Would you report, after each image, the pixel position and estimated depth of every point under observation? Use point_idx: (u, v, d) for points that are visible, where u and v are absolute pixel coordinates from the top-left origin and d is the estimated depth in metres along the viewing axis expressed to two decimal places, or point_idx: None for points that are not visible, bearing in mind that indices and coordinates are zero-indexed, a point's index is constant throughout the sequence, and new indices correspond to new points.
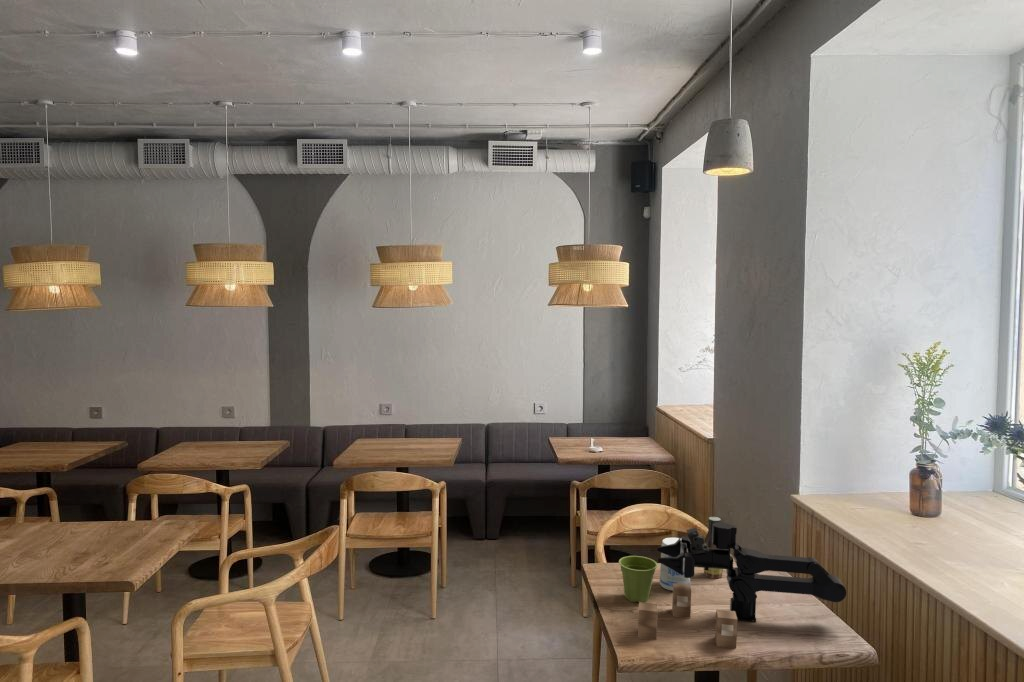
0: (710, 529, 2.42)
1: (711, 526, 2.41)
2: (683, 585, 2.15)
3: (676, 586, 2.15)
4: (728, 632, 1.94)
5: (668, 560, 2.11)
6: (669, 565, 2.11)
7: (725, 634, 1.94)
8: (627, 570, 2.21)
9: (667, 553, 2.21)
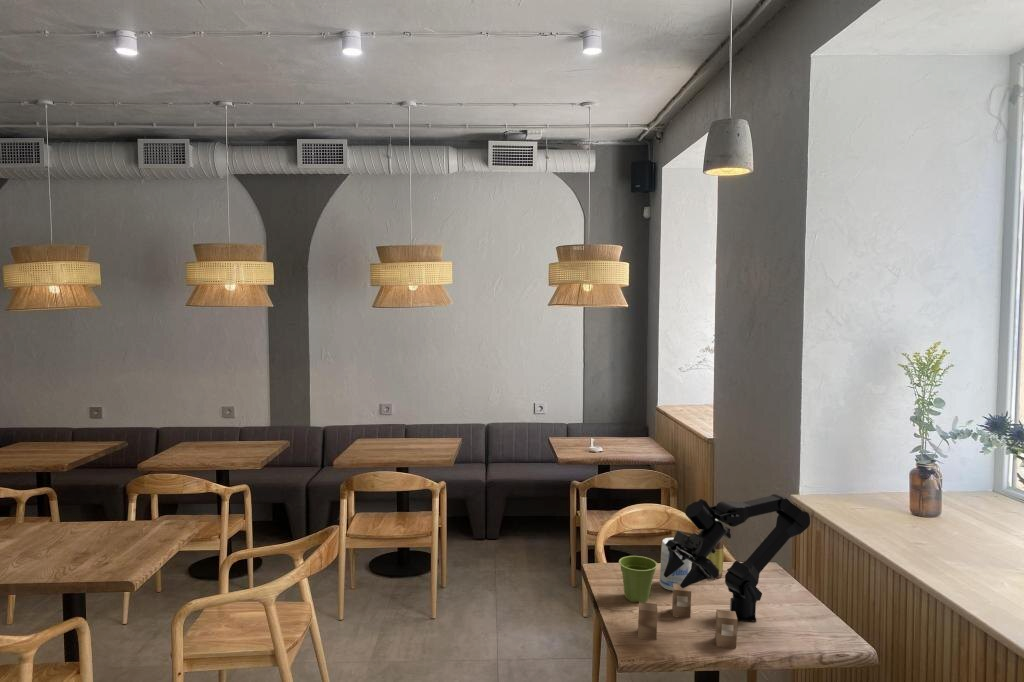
0: None
1: None
2: None
3: (676, 586, 2.15)
4: (728, 632, 1.94)
5: (689, 579, 1.99)
6: (693, 581, 1.99)
7: (725, 634, 1.94)
8: (627, 570, 2.21)
9: (673, 570, 2.08)
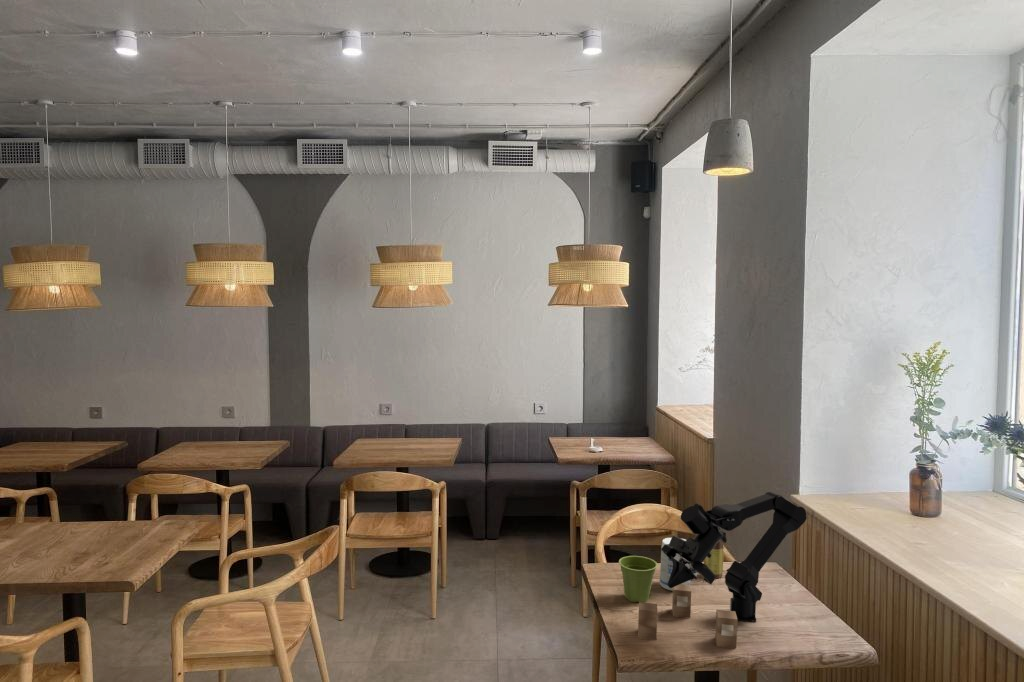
0: None
1: None
2: (683, 585, 2.15)
3: (676, 586, 2.15)
4: (728, 632, 1.94)
5: (677, 579, 2.02)
6: (681, 581, 2.02)
7: (725, 634, 1.94)
8: (627, 570, 2.21)
9: None
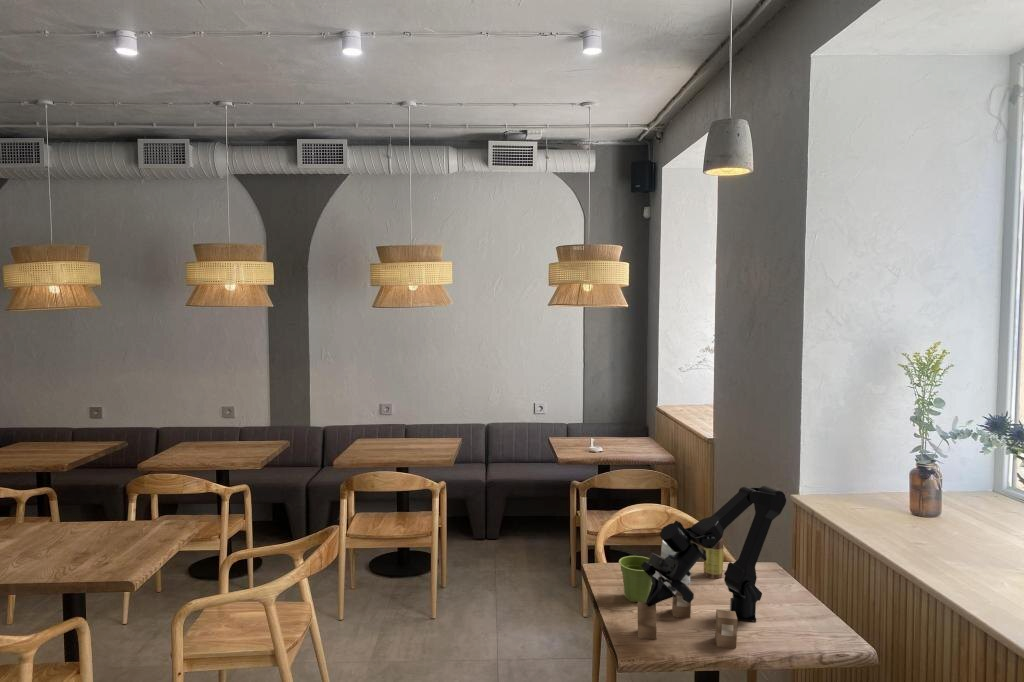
0: None
1: None
2: None
3: None
4: (728, 632, 1.94)
5: (655, 597, 2.00)
6: (659, 599, 2.00)
7: (725, 634, 1.94)
8: (627, 570, 2.21)
9: None
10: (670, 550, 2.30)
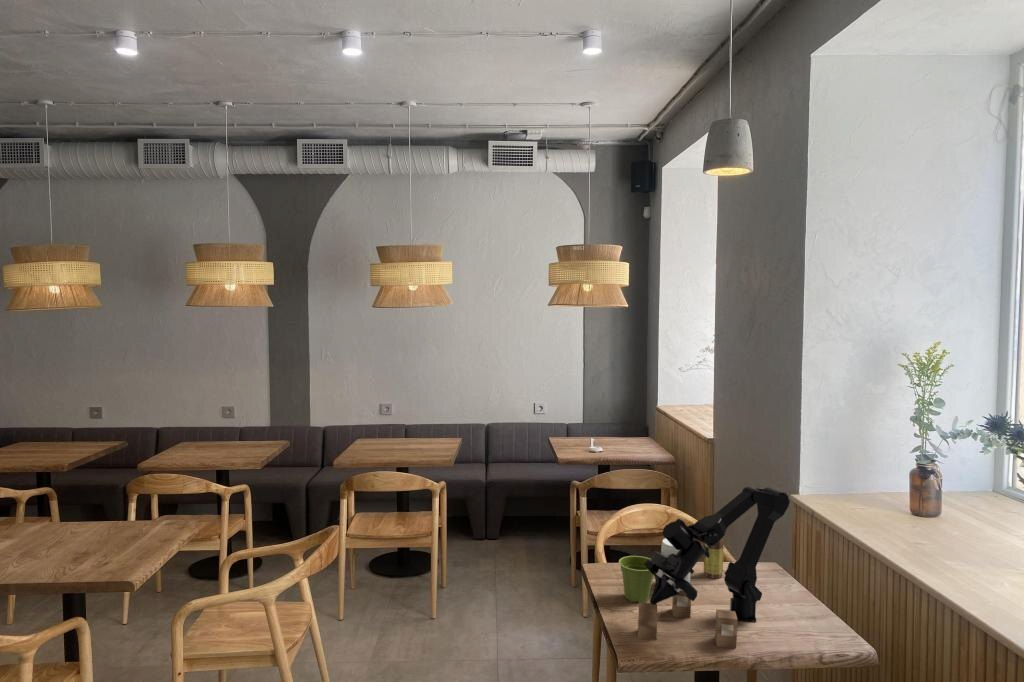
0: None
1: None
2: None
3: None
4: (728, 632, 1.94)
5: (659, 595, 2.00)
6: (663, 598, 2.00)
7: (725, 634, 1.94)
8: (627, 570, 2.21)
9: None
10: (670, 550, 2.30)
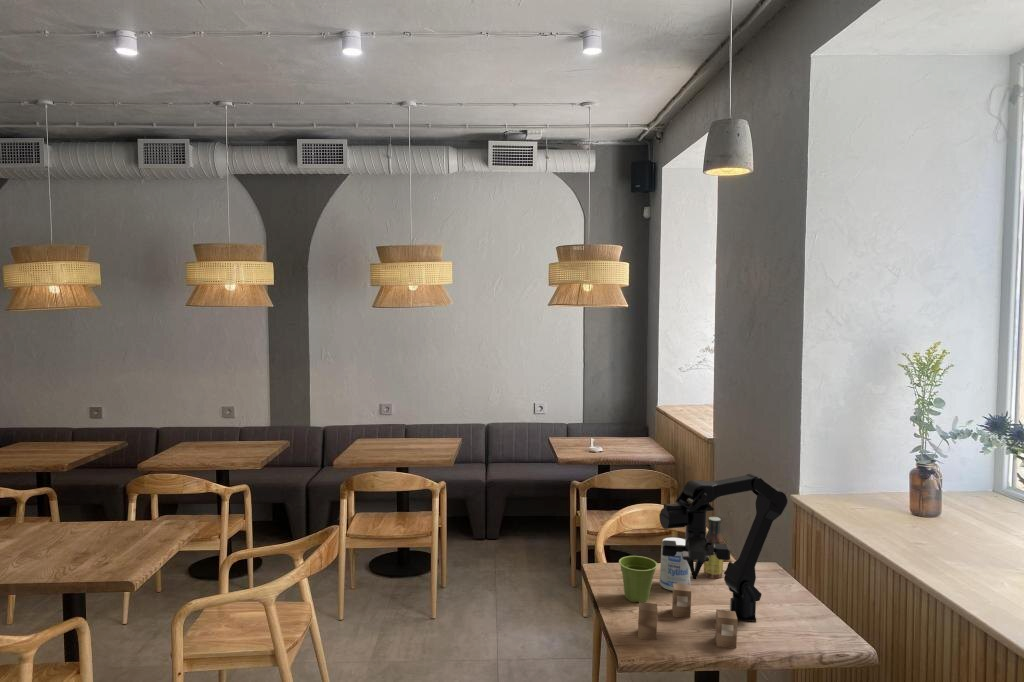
0: (710, 529, 2.42)
1: (711, 526, 2.41)
2: (683, 585, 2.15)
3: (676, 586, 2.15)
4: (728, 632, 1.94)
5: None
6: None
7: (725, 634, 1.94)
8: (627, 570, 2.21)
9: None
10: None
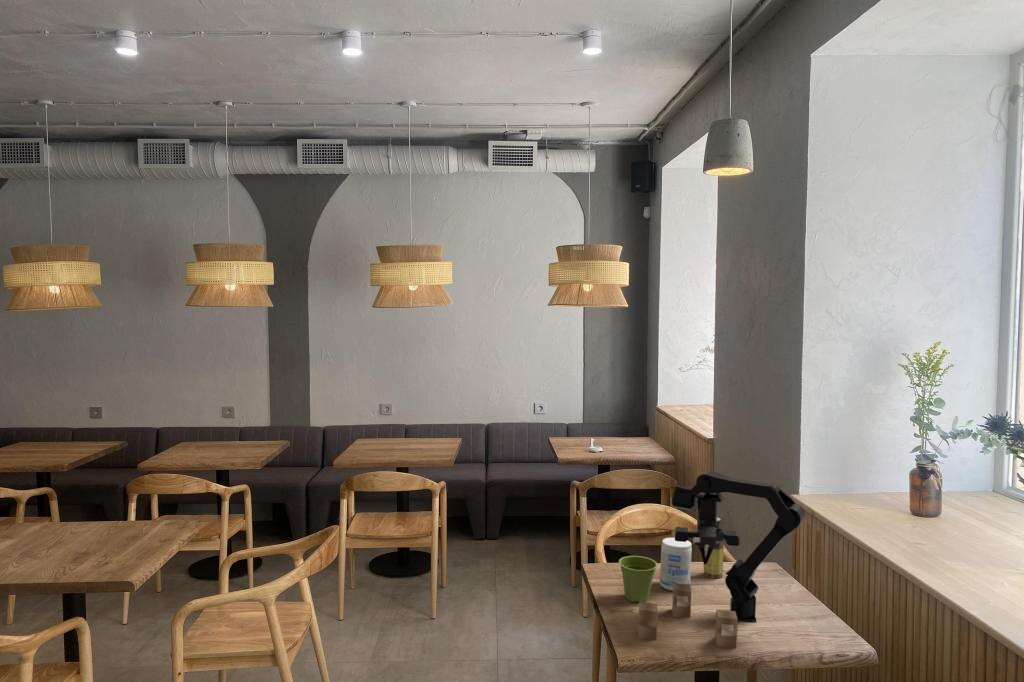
0: None
1: None
2: (683, 585, 2.15)
3: (676, 586, 2.15)
4: (728, 632, 1.94)
5: None
6: None
7: (725, 634, 1.94)
8: (627, 570, 2.21)
9: None
10: (670, 550, 2.30)
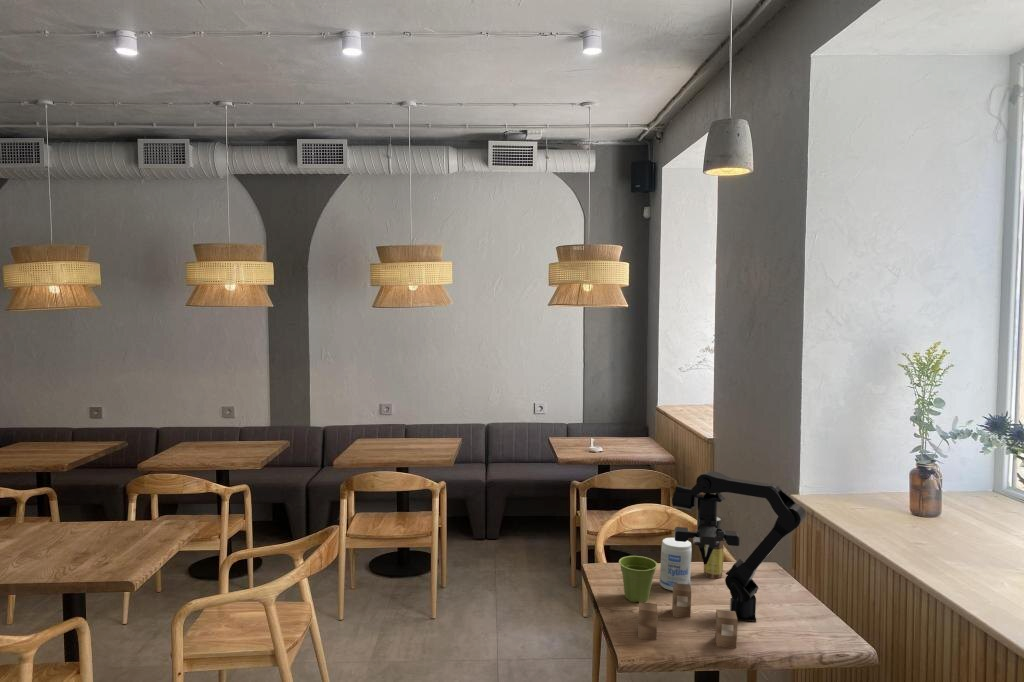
0: None
1: None
2: (683, 585, 2.15)
3: (676, 586, 2.15)
4: (728, 632, 1.94)
5: None
6: None
7: (725, 634, 1.94)
8: (627, 570, 2.21)
9: None
10: (670, 550, 2.30)
